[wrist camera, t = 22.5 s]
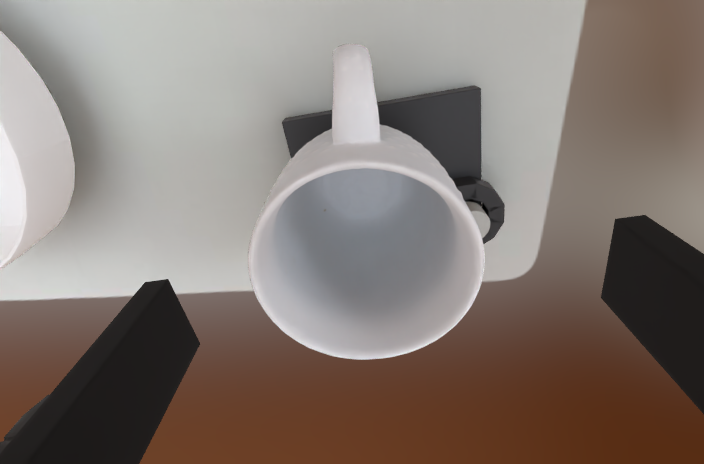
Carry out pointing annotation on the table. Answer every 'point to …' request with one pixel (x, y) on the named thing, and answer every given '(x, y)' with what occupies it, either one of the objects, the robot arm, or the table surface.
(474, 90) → the scale
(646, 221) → the robot arm
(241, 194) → the table surface
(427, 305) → the mug
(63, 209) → the bowl
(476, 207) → the button
